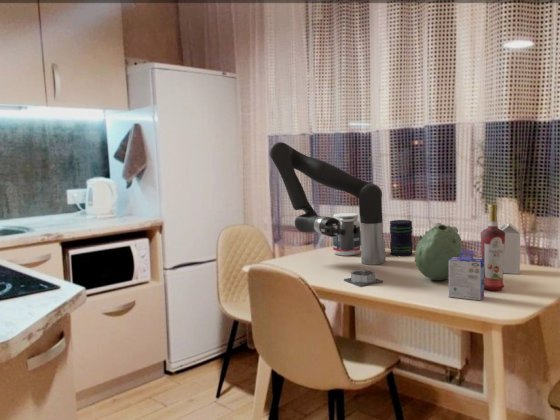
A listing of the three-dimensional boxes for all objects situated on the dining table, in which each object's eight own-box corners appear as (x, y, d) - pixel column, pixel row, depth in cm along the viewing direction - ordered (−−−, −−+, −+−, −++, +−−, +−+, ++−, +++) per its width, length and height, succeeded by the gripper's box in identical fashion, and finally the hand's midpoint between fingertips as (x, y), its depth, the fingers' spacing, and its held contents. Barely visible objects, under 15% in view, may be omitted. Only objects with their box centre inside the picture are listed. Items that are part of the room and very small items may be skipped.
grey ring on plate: (365, 276, 183) (365, 268, 183) (382, 282, 174) (382, 273, 174) (343, 280, 179) (343, 272, 178) (359, 286, 170) (359, 277, 169)
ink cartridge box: (484, 296, 152) (484, 251, 151) (481, 301, 148) (481, 254, 146) (452, 292, 158) (451, 249, 156) (448, 297, 153) (447, 252, 151)
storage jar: (415, 252, 220) (415, 220, 218) (409, 257, 212) (408, 223, 210) (394, 251, 225) (393, 219, 224) (387, 255, 217) (386, 222, 215)
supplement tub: (341, 257, 218) (339, 217, 215) (328, 252, 229) (326, 214, 227) (366, 254, 222) (364, 214, 220) (352, 249, 234) (350, 212, 232)
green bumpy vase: (405, 282, 173) (404, 226, 170) (430, 271, 186) (429, 219, 184) (448, 289, 162) (447, 230, 160) (471, 276, 175) (470, 222, 173)
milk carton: (519, 269, 182) (519, 219, 180) (519, 274, 175) (520, 222, 173) (498, 268, 185) (498, 219, 183) (498, 273, 178) (498, 222, 176)
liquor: (485, 292, 156) (485, 206, 153) (477, 286, 163) (477, 204, 160) (508, 291, 156) (509, 205, 152) (499, 285, 163) (499, 203, 160)
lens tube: (349, 247, 184) (348, 216, 183) (357, 249, 180) (356, 217, 178) (337, 248, 182) (336, 217, 181) (345, 251, 177) (344, 218, 176)
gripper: (310, 218, 189) (334, 223, 174) (341, 215, 196) (366, 219, 180) (311, 237, 190) (334, 243, 175) (342, 233, 196) (367, 239, 181)
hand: (350, 231), depth 178 cm, fingers closed on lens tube, 5 cm apart
